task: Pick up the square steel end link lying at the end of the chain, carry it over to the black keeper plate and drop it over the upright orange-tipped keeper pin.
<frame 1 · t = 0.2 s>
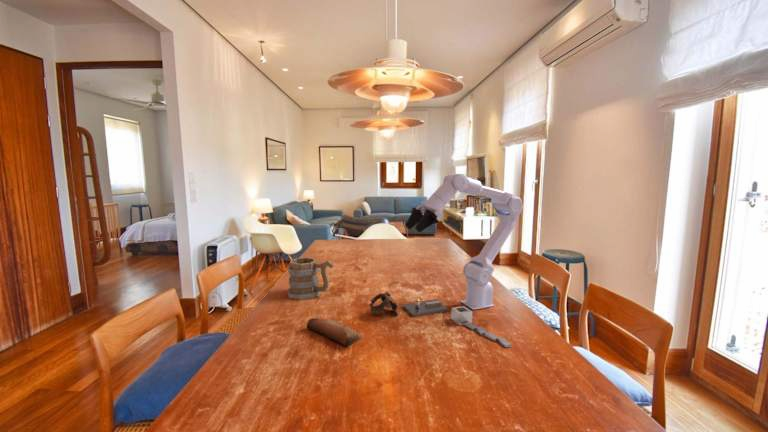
hand: (412, 228, 110), 31 cm above the table, tool tilted 45°, fingers open, 7 cm apart
keeper: (424, 308, 121), on the table
tankard: (311, 295, 134), on the table
end link: (461, 320, 111), on the table
pottery mug: (385, 313, 117), on the table
sunglasses case: (335, 335, 102), on the table
chain: (480, 332, 103), on the table
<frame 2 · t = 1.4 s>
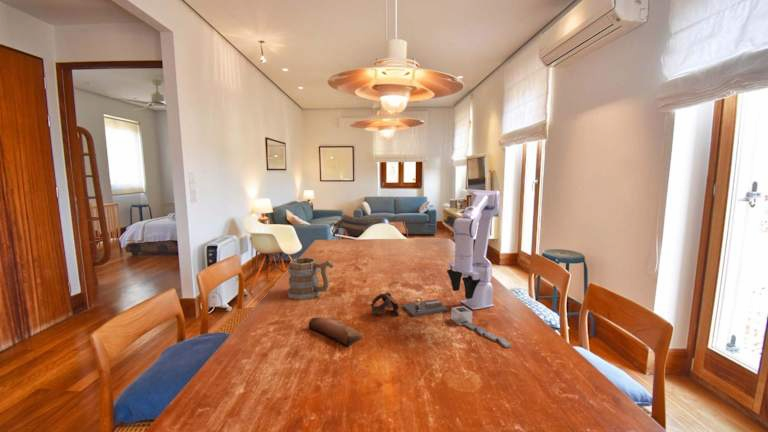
hand: (462, 294, 110), 9 cm above the table, tool pointing down, fingers open, 7 cm apart
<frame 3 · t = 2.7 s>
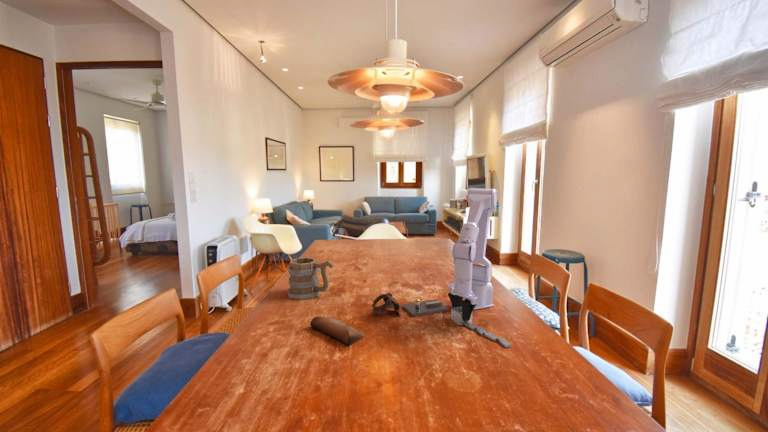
hand: (461, 317, 111), 1 cm above the table, tool pointing down, fingers closed on end link, 5 cm apart
end link: (461, 320, 111), on the table, touching gripper
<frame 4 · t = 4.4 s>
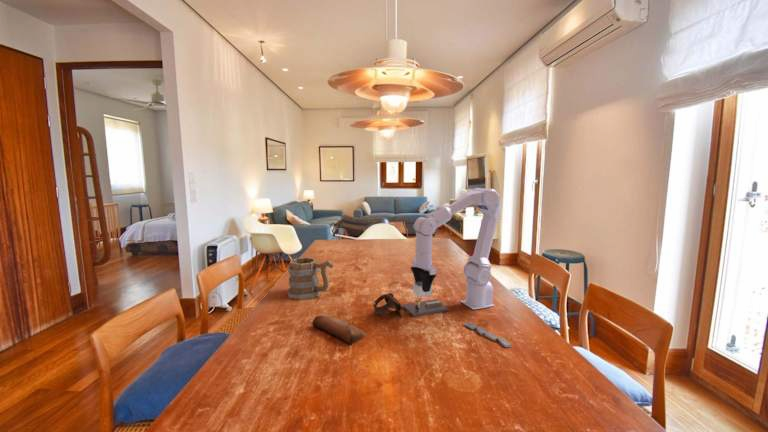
hand: (422, 288, 117), 8 cm above the table, tool pointing down, fingers closed on end link, 5 cm apart
end link: (422, 294, 117), point 6 cm above the table, touching gripper
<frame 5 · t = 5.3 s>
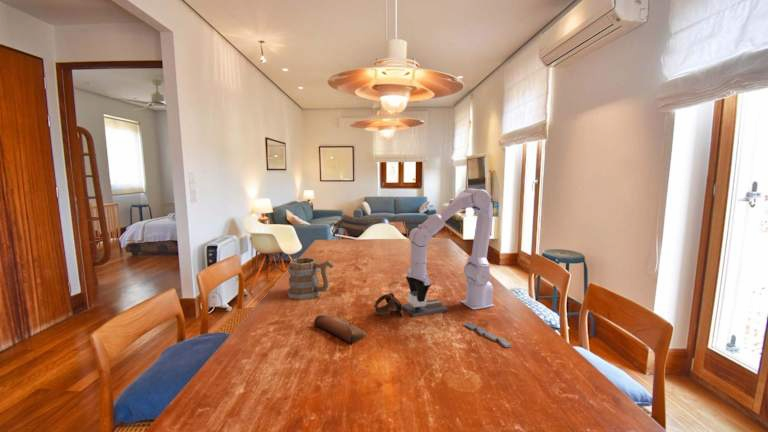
hand: (417, 298, 119), 4 cm above the table, tool pointing down, fingers closed on end link, 5 cm apart
end link: (417, 304, 119), point 2 cm above the table, touching gripper
when the fingers open (4 cm above the table, at t = 5.9 s): end link stays where it is, resting on keeper.
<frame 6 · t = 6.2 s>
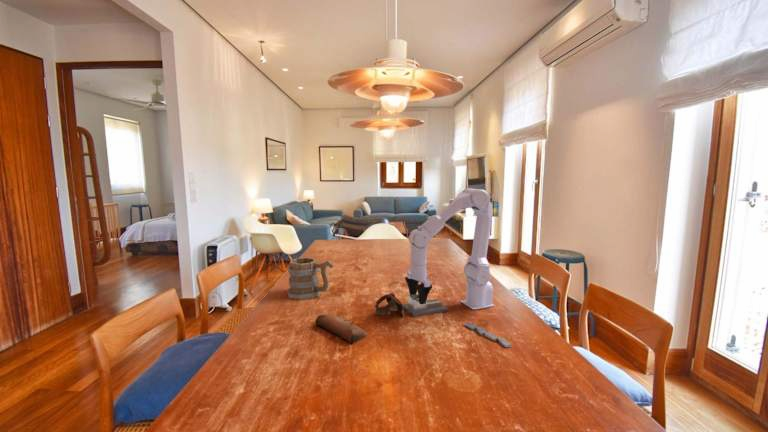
hand: (417, 299, 119), 4 cm above the table, tool pointing down, fingers open, 7 cm apart
end link: (417, 307, 119), point 1 cm above the table, touching keeper
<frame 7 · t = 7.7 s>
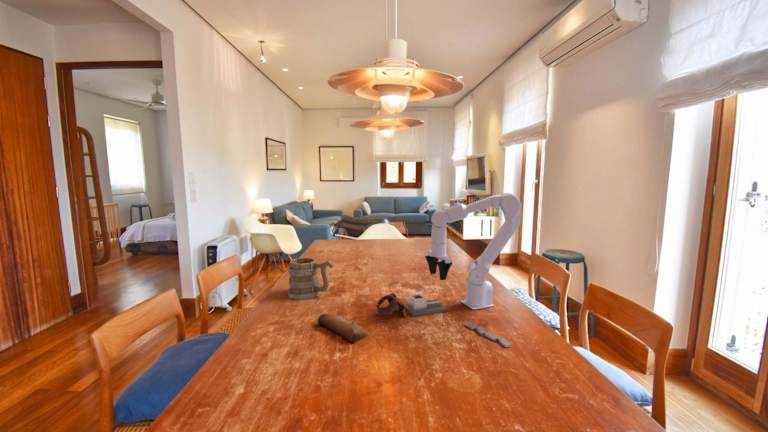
hand: (437, 276, 127), 10 cm above the table, tool pointing down, fingers open, 7 cm apart
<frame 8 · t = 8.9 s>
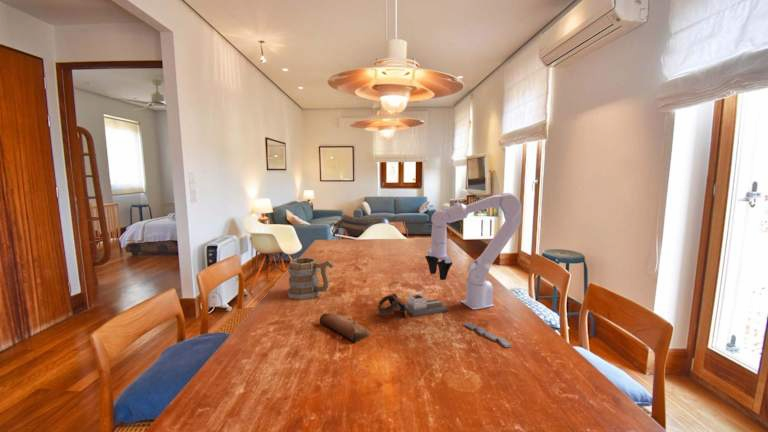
hand: (437, 276, 127), 10 cm above the table, tool pointing down, fingers open, 7 cm apart
at the end: end link 0.1 cm from the target spot, point 1.0 cm above the table; the gripper is holding nothing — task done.
